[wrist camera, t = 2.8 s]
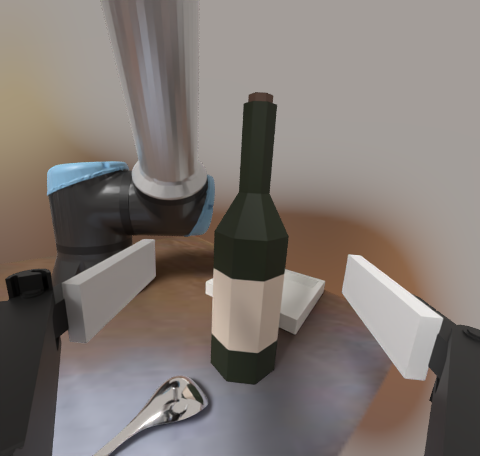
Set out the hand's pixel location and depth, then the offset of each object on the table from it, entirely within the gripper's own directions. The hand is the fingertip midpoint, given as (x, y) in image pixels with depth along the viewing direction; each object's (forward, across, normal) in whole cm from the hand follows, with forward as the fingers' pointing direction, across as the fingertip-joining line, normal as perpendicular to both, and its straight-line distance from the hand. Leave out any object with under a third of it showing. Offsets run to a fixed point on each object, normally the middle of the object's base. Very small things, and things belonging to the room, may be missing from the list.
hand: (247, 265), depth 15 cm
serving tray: (+26, +4, -16) cm, 31 cm away
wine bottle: (+10, 0, -17) cm, 19 cm away
